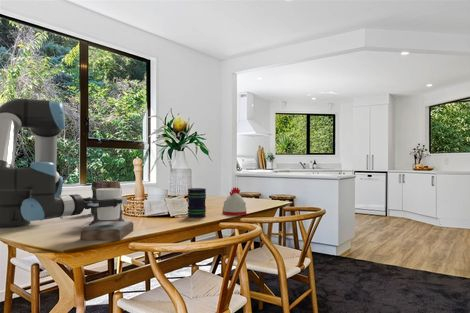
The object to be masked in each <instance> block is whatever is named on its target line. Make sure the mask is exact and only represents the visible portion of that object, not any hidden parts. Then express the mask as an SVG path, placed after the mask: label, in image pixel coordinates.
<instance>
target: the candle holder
mask: <svg viewBox="0 0 470 313" xmlns="http://www.w3.org/2000/svg"><path fill="white" fill-rule="evenodd" d="M122 190H123V189H122V188H101V189H96V196H97V200H105V199H113V198H122V194H121V191H122ZM122 192H123V191H122ZM97 216H98V220H115V219H119V217H120V205H117V206H115V207H113V206H111V207H101V208H97Z"/></svg>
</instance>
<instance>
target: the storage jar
mask: <svg viewBox="0 0 470 313" xmlns="http://www.w3.org/2000/svg"><path fill="white" fill-rule="evenodd" d="M206 190H207V189H206V188H205V187H204V188H201V187H200V188H199V187H198V188H197V187H194V188H193V187H191V188H188V189H187V200H188V201H187V203H188V204H187V205H188V206H187V218H189V219H191V218H192V219H202V218H206V217H207V216H206V213H207V207H206V199H207V197H206V196H207V191H206Z"/></svg>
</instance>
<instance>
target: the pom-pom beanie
mask: <svg viewBox="0 0 470 313" xmlns="http://www.w3.org/2000/svg"><path fill="white" fill-rule="evenodd" d="M240 192H241V188H240V189H239V187H236V186H235V187H232V189H231V190H230V191H229V195H228V196H227V198H225V200H224V202H223V207H222V214H223V215H227V216H243V215H247V205H246V201H245V200H244V199H243V196H241V194H240Z"/></svg>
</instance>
